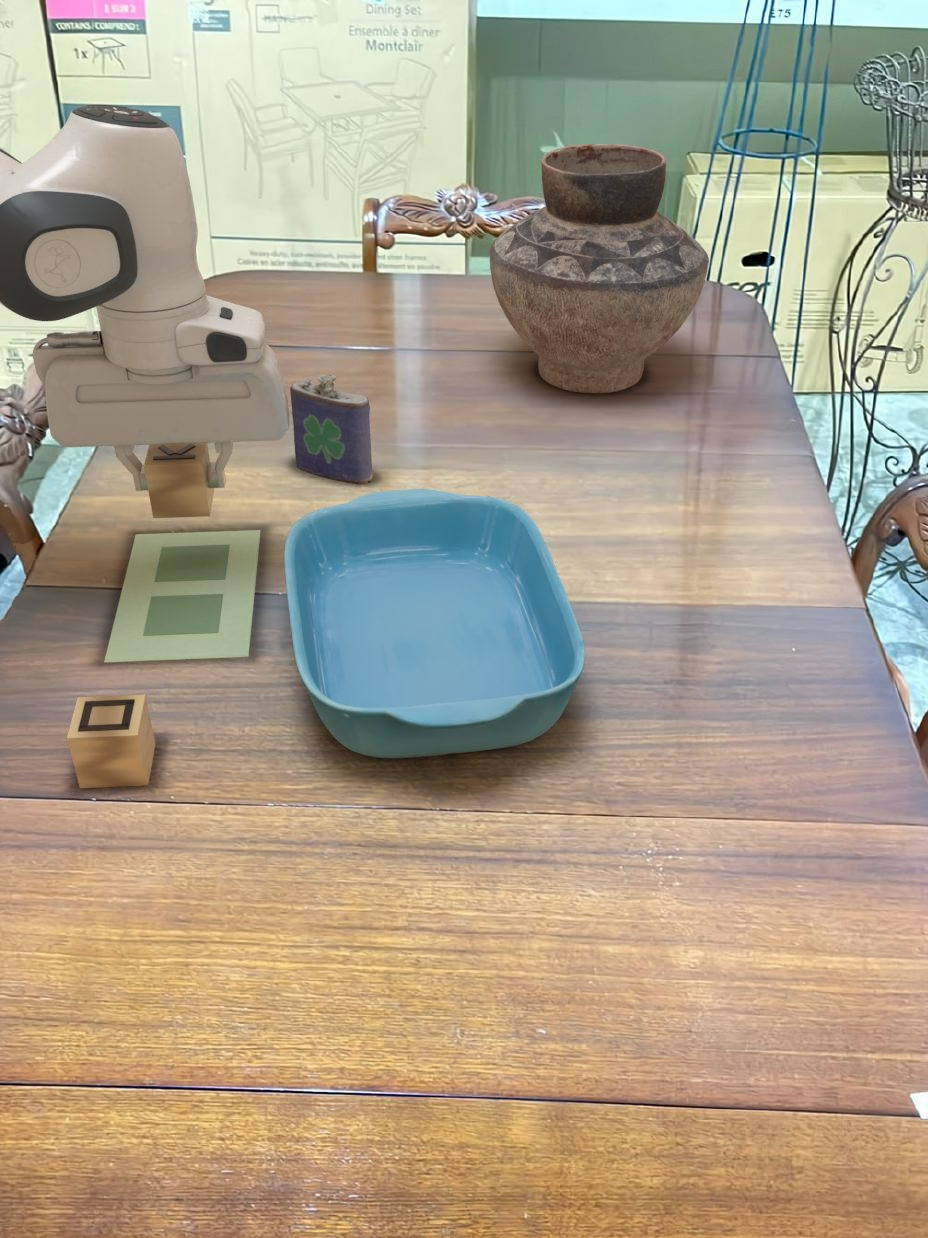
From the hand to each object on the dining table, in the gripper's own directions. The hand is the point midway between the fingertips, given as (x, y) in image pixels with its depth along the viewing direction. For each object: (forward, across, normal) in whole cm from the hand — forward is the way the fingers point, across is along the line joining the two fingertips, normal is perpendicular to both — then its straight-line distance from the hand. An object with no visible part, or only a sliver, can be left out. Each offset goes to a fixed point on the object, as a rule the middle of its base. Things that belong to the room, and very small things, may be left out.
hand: (181, 486), depth 112 cm
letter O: (+8, -3, -30) cm, 31 cm away
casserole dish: (+8, +21, -17) cm, 28 cm away
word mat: (+8, 0, -5) cm, 10 cm away
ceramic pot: (+8, +44, +43) cm, 62 cm away
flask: (+8, +13, +18) cm, 24 cm away
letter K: (+2, 0, 0) cm, 2 cm away
